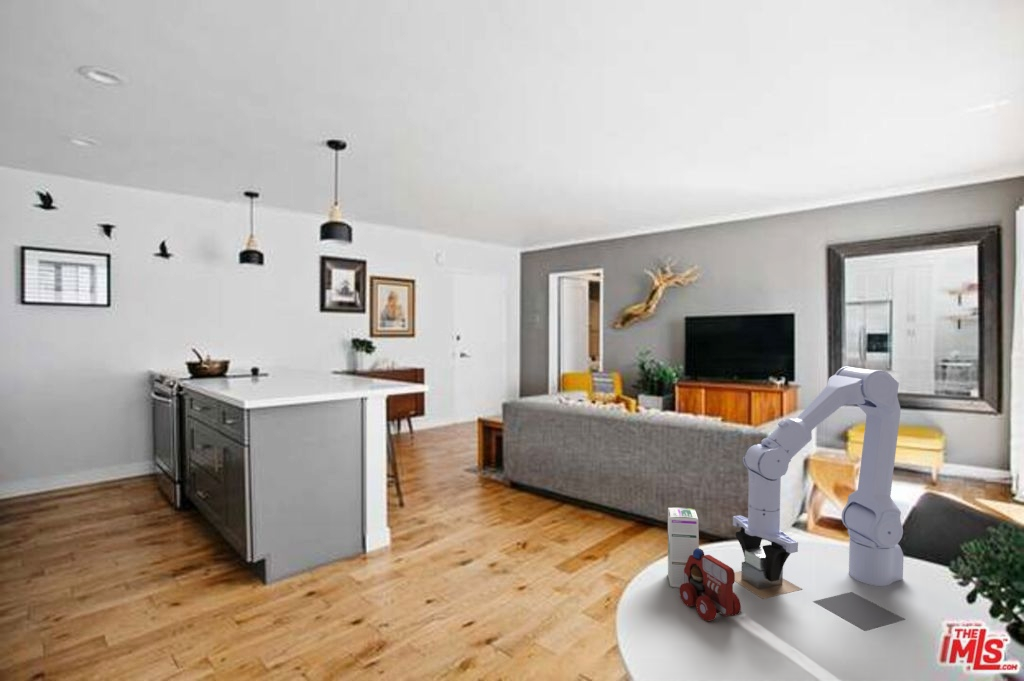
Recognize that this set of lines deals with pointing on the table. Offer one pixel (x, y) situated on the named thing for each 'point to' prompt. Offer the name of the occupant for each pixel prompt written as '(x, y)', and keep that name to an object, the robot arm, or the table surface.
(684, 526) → the syrup box
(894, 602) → the table surface
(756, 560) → the housing
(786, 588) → the stand
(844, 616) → the stand
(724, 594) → the toy fire truck
